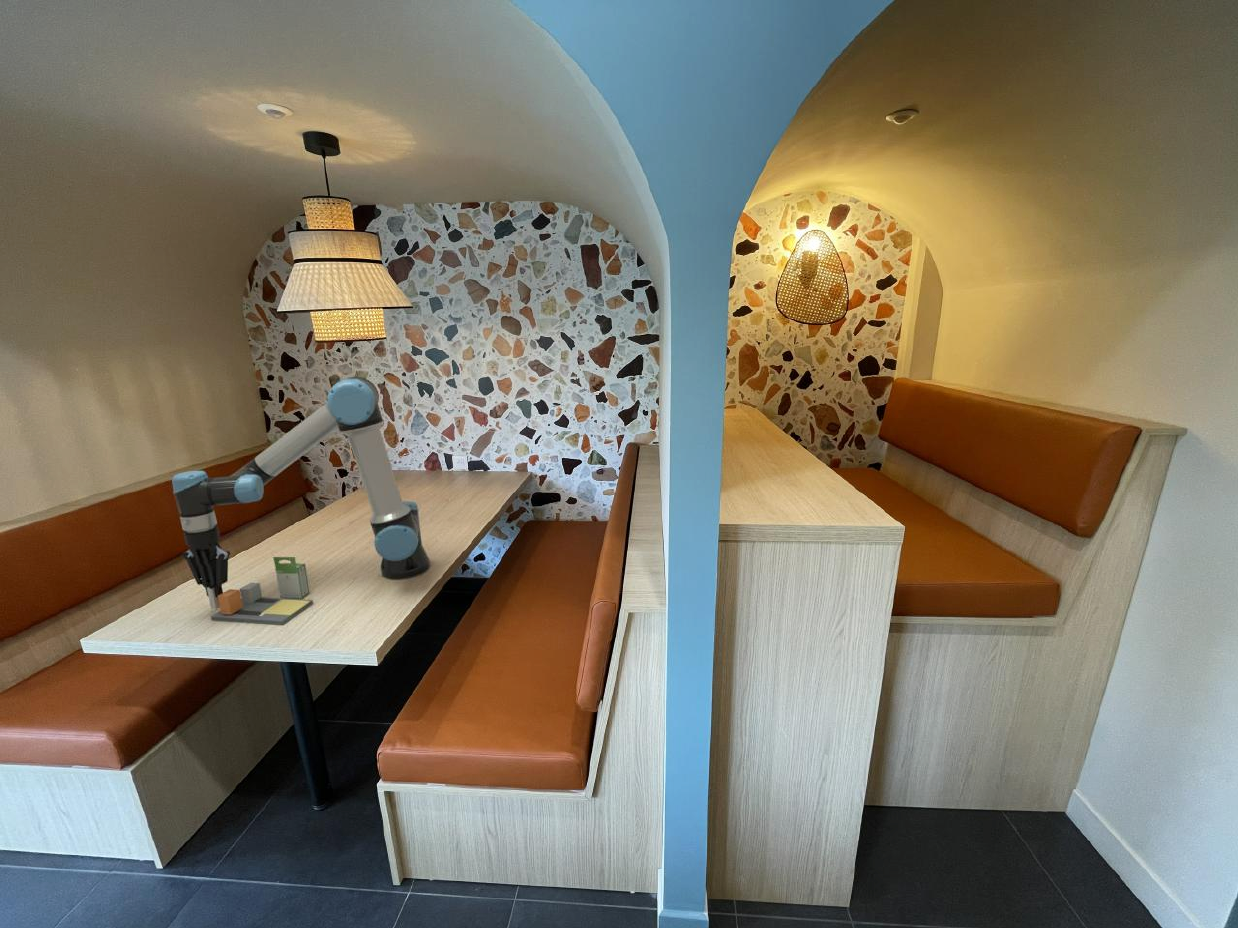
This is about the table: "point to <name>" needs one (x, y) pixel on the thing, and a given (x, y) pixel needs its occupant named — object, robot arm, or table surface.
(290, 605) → the pad
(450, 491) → the table surface
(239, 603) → the lever
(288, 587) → the ink box
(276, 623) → the panel
